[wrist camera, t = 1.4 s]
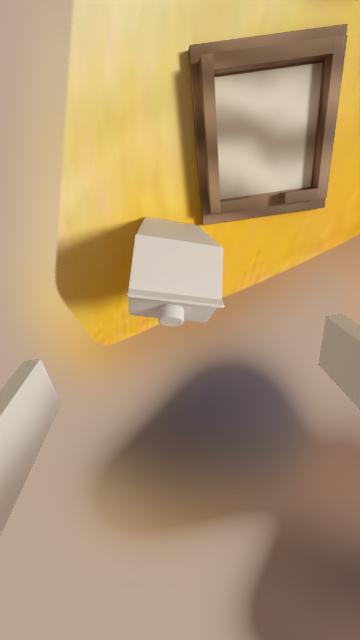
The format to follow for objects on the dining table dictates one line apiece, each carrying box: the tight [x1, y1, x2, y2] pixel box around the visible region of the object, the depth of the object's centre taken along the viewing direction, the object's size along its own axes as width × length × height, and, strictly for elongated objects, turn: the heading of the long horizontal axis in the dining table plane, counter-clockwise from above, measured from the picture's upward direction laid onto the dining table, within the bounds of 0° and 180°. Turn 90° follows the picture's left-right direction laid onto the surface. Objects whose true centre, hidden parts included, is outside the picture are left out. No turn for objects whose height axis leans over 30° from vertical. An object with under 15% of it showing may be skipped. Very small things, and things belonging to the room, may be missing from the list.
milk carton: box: [127, 217, 224, 326], centre depth 27 cm, size 7×7×19 cm
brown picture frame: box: [189, 24, 348, 225], centre depth 29 cm, size 17×16×2 cm
